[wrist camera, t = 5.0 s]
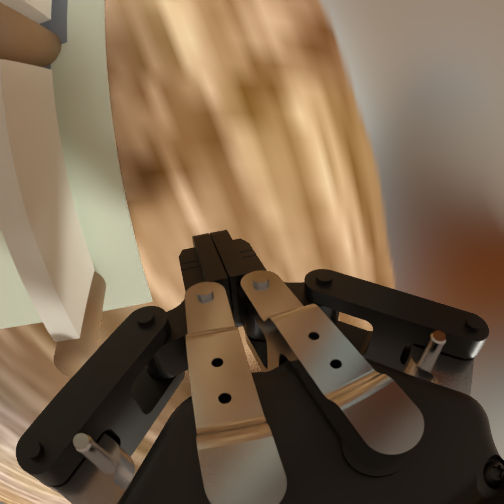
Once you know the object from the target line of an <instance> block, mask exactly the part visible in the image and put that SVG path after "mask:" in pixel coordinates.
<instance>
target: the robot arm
mask: <svg viewBox="0 0 504 504" xmlns="http://www.w3.org/2000/svg"><path fill="white" fill-rule="evenodd" d="M192 239H193V245H194V248H189V249H184V250H182V252H181V254H180V256H179V260H180V266H181V271H182V276H183V281H184V286H185V291H186V293H185V299H184V301H183V302H182V303H181V304H180V305H179V306H177V307H176V308H174V309H172V310H170V311H168V312H165V311H164V310H163V309H162V308H160V307H156V306H147V307H142V308H140V309H137V310H135V311H134V312H133V313H131V314H130V315H129V316H128V317H127V318H126V320H125V321H124V322H123V323H122V324H121V325H120V326H119V327H118V328H117V329H116V330H115V331H114V332H113V333H112V334H111V335H110V336H109V338H108V339H107V340H106V341H105V342H104V343H103V344H102V345H101V346H100V347H99V348H98V349H97V350H96V352H95V353H94V354H93V355H92V356H91V357H90V358H89V359H88V360H87V361H86V363H85V364H84V365H83V366H82V367H81V368H80V369H79V370H78V371H77V372H76V374H75V375H74V376H73V377H72V378H71V379H70V380H69V381H68V383H67V384H66V385H65V386H64V387H63V388H62V389H61V391H60V392H59V393H58V394H57V395H56V396H55V397H54V399H53V400H52V401H51V402H50V403H49V404H48V406H47V407H46V408H45V409H44V410H43V411H42V413H41V414H40V415H39V416H38V417H37V418H36V420H35V421H34V422H33V423H32V424H31V426H30V427H29V428H28V429H27V430H26V432H25V433H24V434H23V435H22V437H21V438H20V439H19V441H18V444H17V447H16V457H17V461H18V463H19V465H20V466H21V468H22V469H23V470H24V471H26V472H27V473H29V474H30V475H32V476H33V477H35V478H36V479H38V480H39V481H40V482H41V483H43V484H44V485H46V486H47V487H49V488H51V489H52V490H54V491H56V492H58V493H60V494H61V495H63V496H64V497H65V498H66V499H67V500H68V501H70V502H71V503H72V504H504V460H503V459H502V458H501V457H500V455H499V454H498V451H497V449H496V447H495V444H494V441H493V438H492V434H491V430H490V425H489V421H488V417H487V414H486V412H485V411H484V409H483V407H482V406H481V405H480V404H479V403H478V402H477V401H476V400H475V399H474V398H472V397H471V396H470V392H471V384H472V375H473V365H474V359H475V357H476V356H477V354H478V353H479V351H480V349H481V347H482V346H483V344H484V342H485V340H486V339H487V337H488V335H489V328H488V326H487V324H486V322H485V321H484V320H483V319H482V318H480V317H479V316H478V315H476V314H473V313H470V312H467V311H463V310H460V309H457V308H454V307H450V306H447V305H444V304H441V303H437V302H434V301H431V300H428V299H424V298H421V297H418V296H414V295H411V294H408V293H404V292H401V291H398V290H395V289H391V288H388V287H385V286H382V285H378V284H375V283H372V282H368V281H365V280H362V279H358V278H355V277H352V276H348V275H345V274H342V273H338V272H335V271H332V270H327V269H318V270H314V271H311V272H309V273H308V274H307V275H306V276H305V282H302V283H287V282H283V281H282V280H281V278H280V277H279V276H278V275H277V274H275V273H273V272H270V271H267V270H266V269H265V267H264V266H263V264H262V263H261V261H260V259H259V258H258V256H256V253H255V252H254V250H253V249H252V247H251V246H250V244H249V243H248V242H246V241H244V240H242V239H236V240H232V238H231V236H230V235H229V233H228V231H227V230H223V231H218V232H213V233H210V234H209V233H207V234H202V235H197V236H192ZM339 312H342V313H345V314H348V315H351V316H354V317H357V318H360V319H363V320H366V321H368V322H369V323H370V324H371V325H372V327H373V331H367V330H364V329H361V328H358V327H355V326H352V325H349V324H346V323H343V322H341V321H338V317H339ZM240 326H243V327H244V330H245V337H246V342H247V344H248V346H249V348H250V349H251V351H252V353H253V355H254V357H255V359H256V360H257V362H258V364H259V366H260V368H261V370H262V371H263V372H256V373H251V371H250V367H249V364H248V361H247V357H246V354H245V350H244V347H243V343H242V340H241V337H240V333H239V330H238V327H240ZM188 369H189V377H190V386H191V394H192V396H191V397H189V398H188V399H186V400H185V401H184V402H183V403H181V404H180V405H179V406H178V407H177V408H176V410H175V411H174V412H173V413H172V415H171V416H170V418H169V419H168V421H167V423H166V424H165V426H164V428H163V429H162V431H161V433H160V434H159V436H158V438H157V439H156V441H155V443H154V444H153V446H152V448H151V449H150V451H149V453H148V454H147V456H146V458H145V459H144V461H143V463H142V464H141V466H140V467H139V469H138V471H137V472H136V474H135V476H134V473H135V465H134V462H133V460H132V458H131V455H132V454H133V452H134V451H135V449H136V448H137V446H138V445H139V444H140V442H141V441H142V439H143V438H144V436H145V435H146V433H147V432H148V430H149V429H150V427H151V426H152V424H153V423H154V421H155V420H156V418H157V417H158V416H159V414H160V413H161V411H162V410H163V408H164V407H165V405H166V404H167V402H168V401H169V399H170V398H171V396H172V395H173V393H174V392H175V390H176V389H177V387H178V386H179V384H180V383H181V381H182V380H183V378H184V375H185V371H186V370H188Z"/></svg>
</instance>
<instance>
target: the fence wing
mask: <svg viewBox="0 0 504 504" xmlns="http://www.w3.org/2000/svg"><path fill="white" fill-rule="evenodd" d="M0 228H1V231H2V233H3V236H4V239H5V242H6V244H7V247H8V249H9V252H10V254H11V257H12V259H13V262H14V264H15V266H16V269H17V271H18V273H19V276H20V278H21V280H22V282H23V284H24V286H25V289H26V291H27V293H28V295H29V297H30V299H31V301H32V303H33V305H34V307H35V309H36V310H37V312H38V314H39V316H40V318H41V320H42V322H43V323H44V325H45V327H46V329H47V330H48V332H49V334H50V336H51V337H52V339H53V341H54V342H57V346H56V350H55V355H54V364H55V366H56V367H57V369H58V370H59V371H60V372H62V373H63V374H65V375H66V376H69V377H71V378H72V377H73V376H74V375H75V374H76V372H77V371H78V370H79V369H80V368H81V367H82V366H83V365H84V364H85V363H86V361H87V360H88V359H89V358H90V357H91V356H92V355H93V354H94V353H95V352H96V350H97V349H98V343H99V334H100V326H101V318H102V311H103V304H104V297H105V291H106V282H105V280H104V278H103V277H102V276H101V275H100V274H99V273H97V272H95V271H94V270H95V269H94V266H93V263H92V260H91V257H90V254H89V251H88V248H87V245H86V242H85V239H84V236H83V232H82V229H81V226H80V222H79V219H78V215H77V211H76V208H75V204H74V200H73V196H72V192H71V188H70V184H69V180H68V175H67V171H66V166H65V161H64V156H63V151H62V146H61V140H60V134H59V128H58V121H57V114H56V106H55V97H54V87H53V75H52V70H51V69H47V68H43V67H39V66H34V65H30V64H25V63H20V62H15V61H10V60H5V59H0Z"/></svg>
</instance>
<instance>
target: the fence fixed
mask: <svg viewBox="0 0 504 504" xmlns="http://www.w3.org/2000/svg"><path fill="white" fill-rule="evenodd" d="M51 6H52V0H0V59H5V60H10V61H15V62H20V63H25V64H30V65H34V66H39V67H46V66H48V65H49V64H52V63H53V62H54V61H55V60H56V58H57V57H58V55H59V53H60V51H61V41H60V38H59V37H58V35H56V34H55V33H53V32H52V31H50V30H48V29H47V28H45V27H43V26H42V25H40V23H43V22H46V21H48V20H51Z"/></svg>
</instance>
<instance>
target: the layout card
mask: <svg viewBox="0 0 504 504" xmlns="http://www.w3.org/2000/svg"><path fill="white" fill-rule="evenodd" d="M40 25H42V26H43V27H45V28H47V29H48V30H50V31H52V32H53V33H55V34H56V35H58V37H59V38H60V41H61V51H60V53H59V55H58V57H57V58H56V60H55V61H54V62H53V63H52V64H49V65H48V66H46V67H43V68H47V69H51V70H52V75H53V87H54V97H55V106H56V114H57V121H58V128H59V134H60V140H61V146H62V151H63V156H64V161H65V166H66V171H67V175H68V180H69V184H70V188H71V192H72V196H73V200H74V204H75V208H76V211H77V215H78V219H79V222H80V226H81V229H82V232H83V236H84V239H85V242H86V245H87V248H88V251H89V254H90V257H91V260H92V263H93V266H94V269H95V270H94V271H95V272H97V273H99V274H100V275H101V276H102V277H103V278H104V280H105V282H106V291H105V297H104V304H103V311H107V310H112V309H117V308H122V307H128V306H133V305H138V304H143V303H148V302H152V296H151V293H150V289H149V286H148V283H147V279H146V276H145V272H144V269H143V265H142V261H141V258H140V254H139V250H138V246H137V242H136V238H135V234H134V230H133V226H132V222H131V217H130V213H129V209H128V204H127V199H126V195H125V190H124V185H123V180H122V174H121V169H120V163H119V158H118V152H117V145H116V139H115V132H114V125H113V118H112V110H111V101H110V92H109V82H108V70H107V56H106V35H105V0H52V6H51V20H48V21H46V22H43V23H40ZM40 322H42V320H41V318H40V316H39V314H38V312H37V310H36V309H35V307H34V305H33V303H32V301H31V299H30V297H29V295H28V293H27V291H26V289H25V286H24V284H23V282H22V280H21V278H20V276H19V273H18V271H17V269H16V266H15V264H14V262H13V259H12V257H11V254H10V252H9V249H8V247H7V244H6V242H5V239H4V236H3V233H2V231H1V228H0V329H3V328H9V327H15V326H22V325H28V324H34V323H40Z"/></svg>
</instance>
